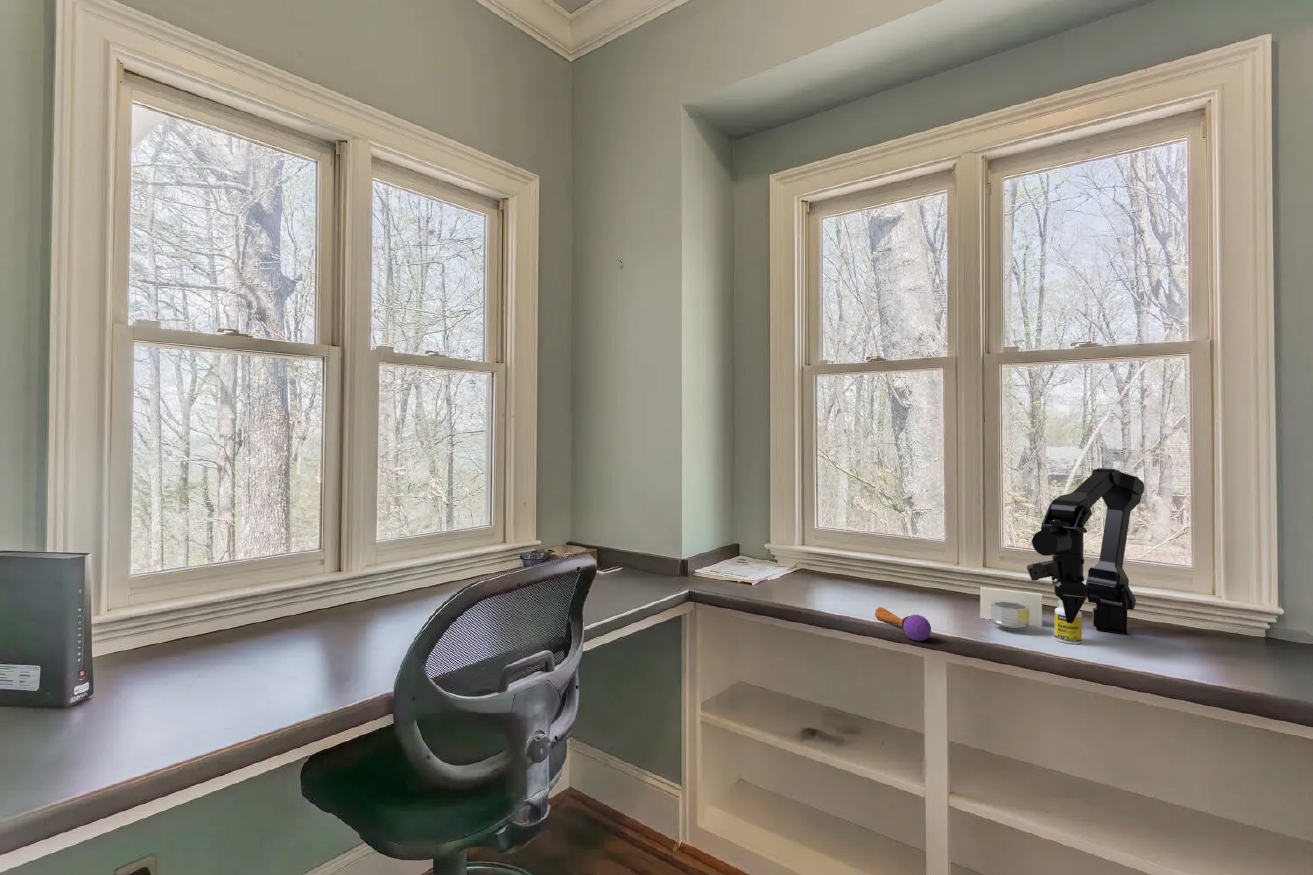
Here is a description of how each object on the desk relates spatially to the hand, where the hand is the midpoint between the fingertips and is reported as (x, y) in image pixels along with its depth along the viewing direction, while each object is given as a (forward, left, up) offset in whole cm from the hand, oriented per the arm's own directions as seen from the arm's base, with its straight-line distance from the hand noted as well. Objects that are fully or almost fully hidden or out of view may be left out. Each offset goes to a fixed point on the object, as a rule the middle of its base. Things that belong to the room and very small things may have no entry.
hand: (1068, 618), depth 147 cm
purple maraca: (+35, +13, -6) cm, 38 cm away
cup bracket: (+12, -4, -4) cm, 13 cm away
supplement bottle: (0, 0, -6) cm, 6 cm away
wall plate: (+12, -11, -5) cm, 17 cm away
